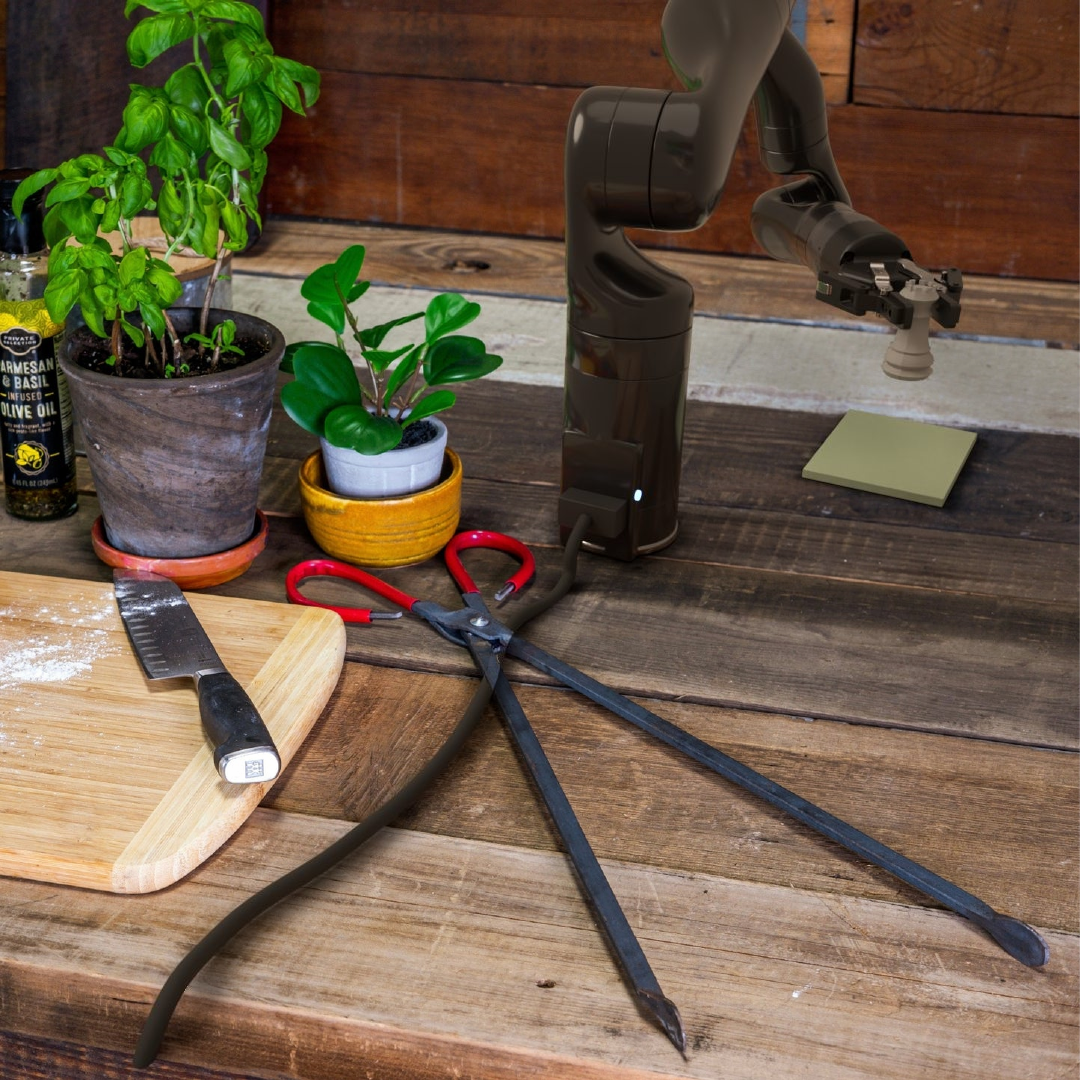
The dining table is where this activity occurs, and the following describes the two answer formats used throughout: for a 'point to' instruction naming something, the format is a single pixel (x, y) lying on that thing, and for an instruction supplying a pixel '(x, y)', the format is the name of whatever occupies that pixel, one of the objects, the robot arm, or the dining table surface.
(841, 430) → the mat
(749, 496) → the dining table surface
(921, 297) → the rook chess piece
